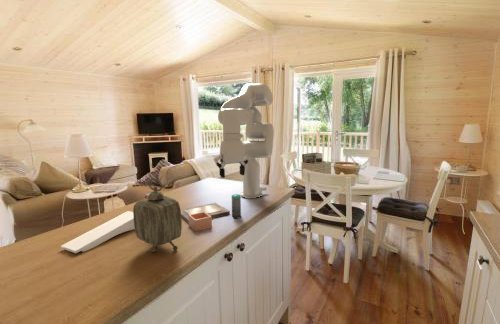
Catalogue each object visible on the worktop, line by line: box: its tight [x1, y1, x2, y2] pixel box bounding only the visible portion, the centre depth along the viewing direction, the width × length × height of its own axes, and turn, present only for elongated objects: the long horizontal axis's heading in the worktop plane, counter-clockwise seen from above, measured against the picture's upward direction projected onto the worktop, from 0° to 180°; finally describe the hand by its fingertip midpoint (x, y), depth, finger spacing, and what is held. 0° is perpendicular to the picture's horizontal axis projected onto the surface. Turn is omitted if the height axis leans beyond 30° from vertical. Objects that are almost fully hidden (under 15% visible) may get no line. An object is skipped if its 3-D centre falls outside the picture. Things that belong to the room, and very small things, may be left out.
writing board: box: [180, 202, 231, 224], centre depth 129 cm, size 20×15×2 cm
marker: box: [231, 193, 242, 219], centre depth 124 cm, size 4×4×10 cm
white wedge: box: [60, 210, 135, 254], centre depth 105 cm, size 10×7×28 cm
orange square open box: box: [188, 212, 213, 232], centre depth 114 cm, size 7×7×4 cm
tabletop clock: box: [132, 177, 183, 253], centre depth 93 cm, size 14×9×25 cm, turn 56°
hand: (232, 175), depth 122 cm, fingers open, 9 cm apart
